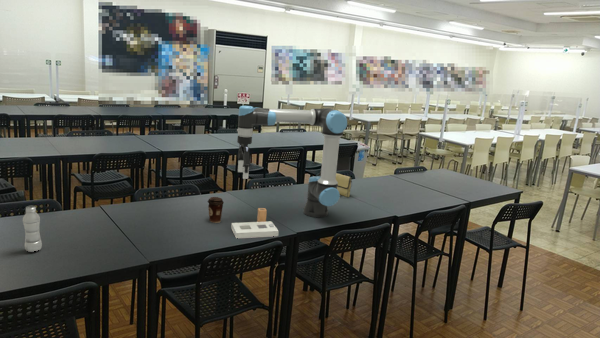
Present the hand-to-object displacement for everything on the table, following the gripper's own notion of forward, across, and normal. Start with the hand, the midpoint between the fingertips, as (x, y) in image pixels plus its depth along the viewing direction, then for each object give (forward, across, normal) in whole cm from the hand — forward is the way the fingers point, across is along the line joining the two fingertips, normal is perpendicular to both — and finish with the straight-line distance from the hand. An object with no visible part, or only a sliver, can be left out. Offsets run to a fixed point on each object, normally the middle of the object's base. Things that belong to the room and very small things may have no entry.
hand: (242, 175), depth 233 cm
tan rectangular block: (+28, -1, +12) cm, 31 cm away
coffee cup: (+28, -7, -13) cm, 32 cm away
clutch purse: (+28, -52, +77) cm, 97 cm away
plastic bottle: (+28, +20, -95) cm, 101 cm away
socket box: (+28, +12, +5) cm, 31 cm away
